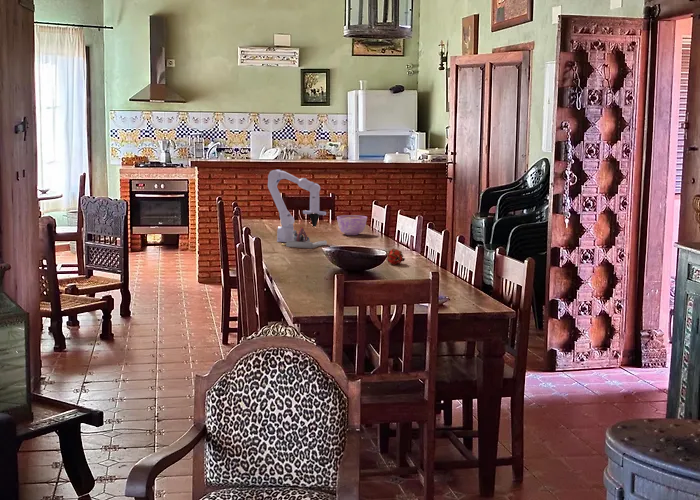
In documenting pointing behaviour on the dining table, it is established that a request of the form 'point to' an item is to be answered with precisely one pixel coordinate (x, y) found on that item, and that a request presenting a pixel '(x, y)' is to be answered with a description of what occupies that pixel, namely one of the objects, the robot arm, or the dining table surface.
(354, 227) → the purple rounded bowl
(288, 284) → the dining table surface
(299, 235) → the brake caliper
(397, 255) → the dragon fruit
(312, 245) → the receiver
